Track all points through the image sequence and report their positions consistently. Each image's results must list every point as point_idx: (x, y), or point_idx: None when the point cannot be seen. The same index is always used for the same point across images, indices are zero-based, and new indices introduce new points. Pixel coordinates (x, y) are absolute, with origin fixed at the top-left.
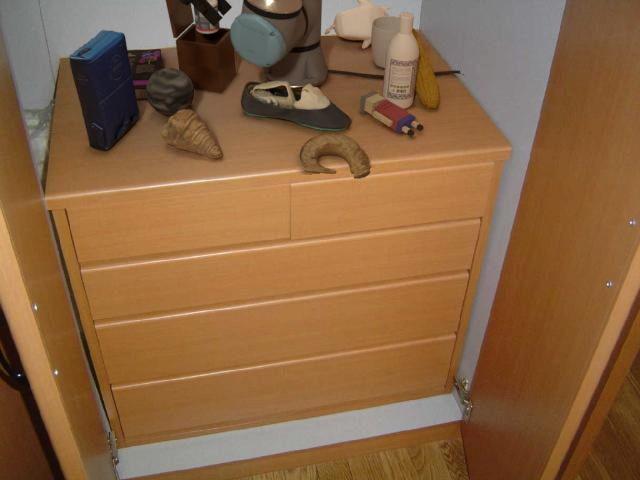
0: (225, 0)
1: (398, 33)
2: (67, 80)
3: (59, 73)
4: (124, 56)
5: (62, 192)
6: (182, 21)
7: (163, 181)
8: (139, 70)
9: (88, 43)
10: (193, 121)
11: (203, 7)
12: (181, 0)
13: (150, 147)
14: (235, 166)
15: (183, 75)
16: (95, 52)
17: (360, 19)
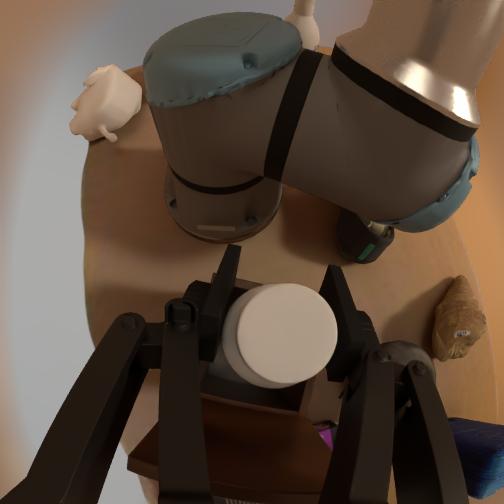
0: (225, 259)
1: (308, 17)
2: None
3: None
4: (482, 441)
5: (496, 416)
6: (258, 420)
7: (488, 330)
8: None
9: None
10: (473, 306)
11: (369, 321)
12: (406, 404)
13: (447, 374)
14: (460, 258)
15: (411, 357)
16: None
17: (125, 84)
